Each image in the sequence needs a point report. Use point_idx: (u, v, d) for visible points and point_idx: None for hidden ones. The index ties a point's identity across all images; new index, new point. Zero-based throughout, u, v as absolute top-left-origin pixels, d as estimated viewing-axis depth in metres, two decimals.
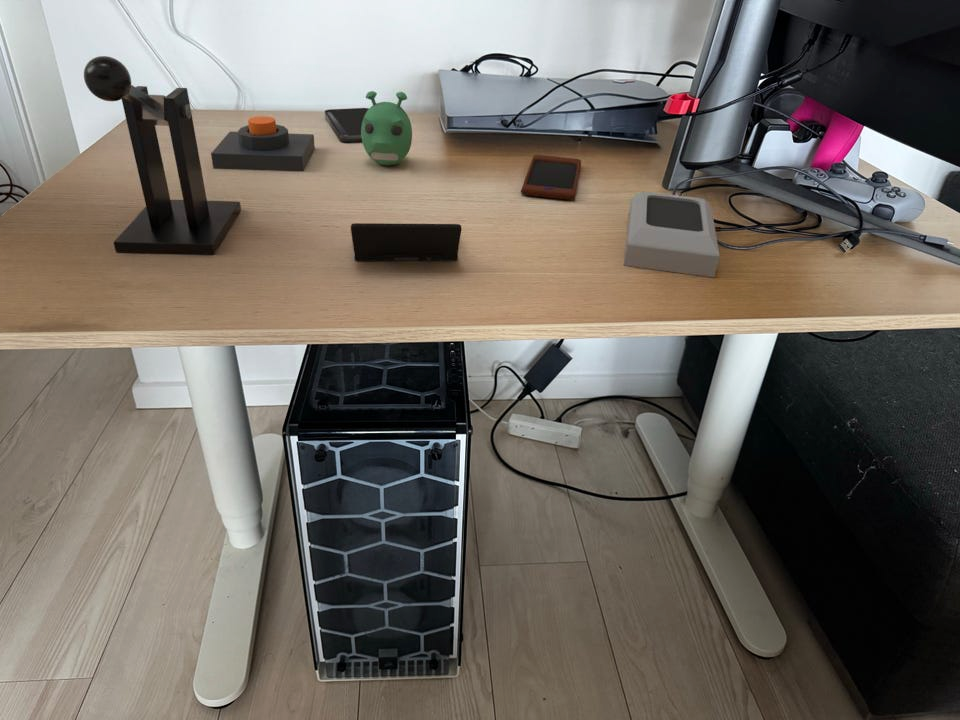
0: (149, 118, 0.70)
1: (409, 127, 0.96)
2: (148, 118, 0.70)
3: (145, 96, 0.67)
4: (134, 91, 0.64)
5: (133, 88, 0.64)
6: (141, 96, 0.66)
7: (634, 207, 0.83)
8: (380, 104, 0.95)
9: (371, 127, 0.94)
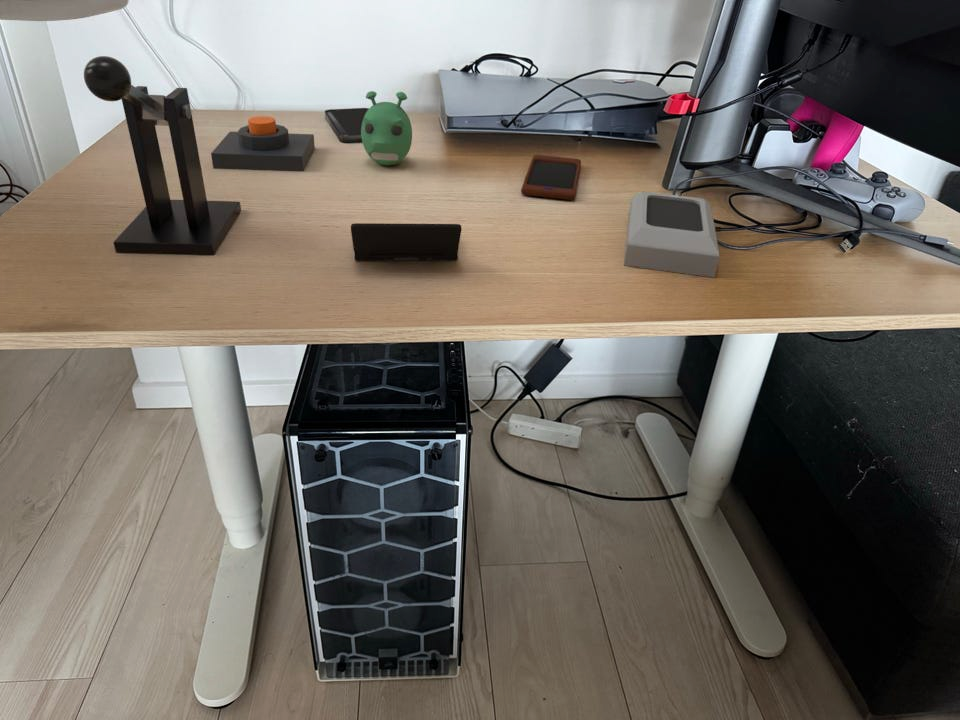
0: (149, 118, 0.70)
1: (409, 127, 0.96)
2: (148, 118, 0.70)
3: (145, 96, 0.67)
4: (134, 91, 0.64)
5: (133, 88, 0.64)
6: (141, 96, 0.66)
7: (634, 207, 0.83)
8: (380, 104, 0.95)
9: (371, 127, 0.94)
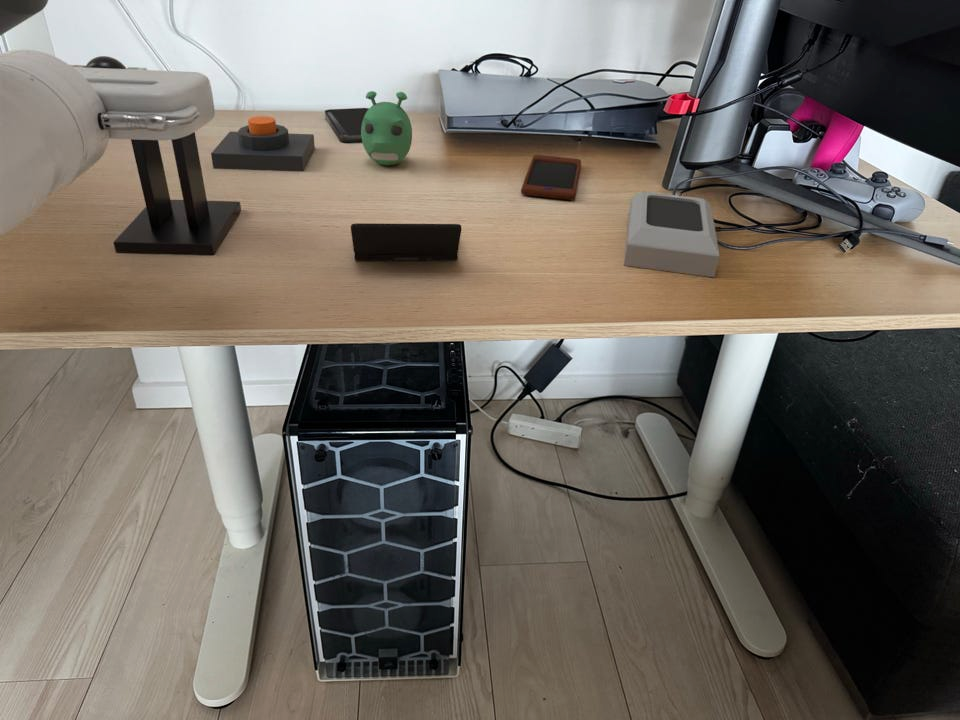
0: None
1: (409, 127, 0.96)
2: None
3: None
4: None
5: None
6: None
7: (634, 207, 0.83)
8: (380, 104, 0.95)
9: (371, 127, 0.94)
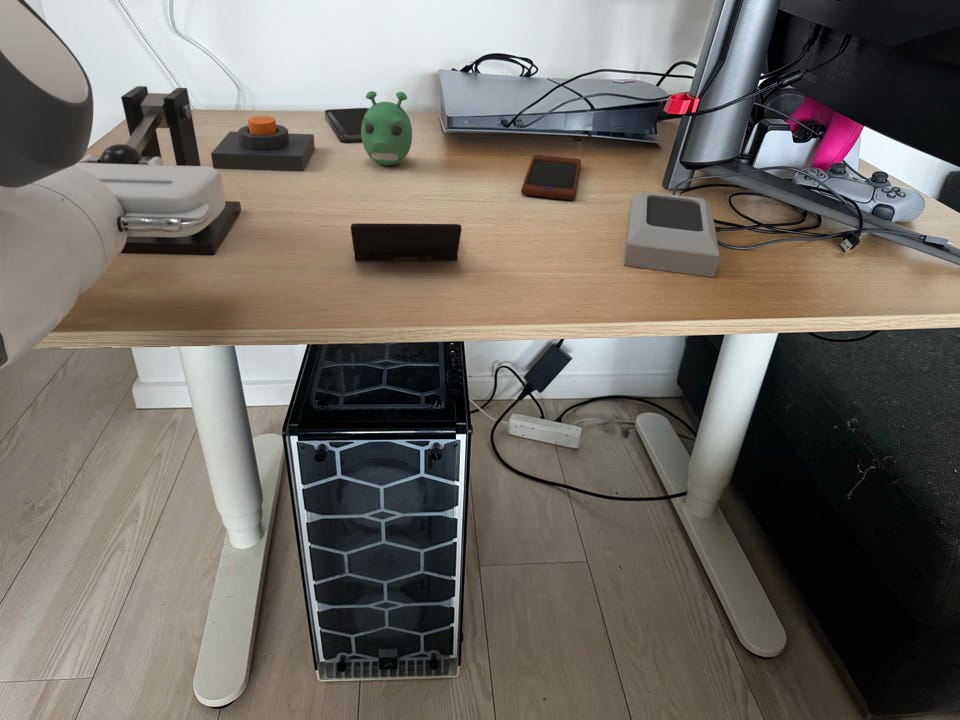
0: None
1: (409, 127, 0.96)
2: None
3: (149, 129, 0.68)
4: (142, 143, 0.66)
5: (141, 142, 0.66)
6: (147, 137, 0.67)
7: (634, 207, 0.83)
8: (380, 104, 0.95)
9: (371, 127, 0.94)
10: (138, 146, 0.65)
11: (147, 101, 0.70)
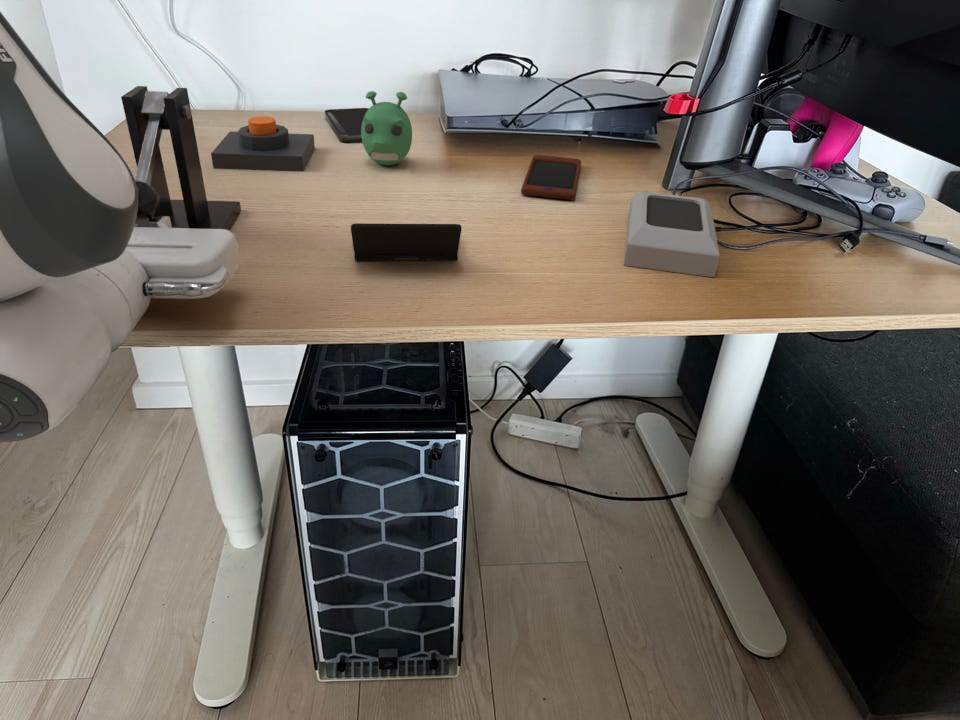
0: None
1: (409, 127, 0.96)
2: None
3: (155, 145, 0.69)
4: (151, 166, 0.68)
5: (150, 166, 0.68)
6: (154, 155, 0.69)
7: (634, 207, 0.83)
8: (380, 104, 0.95)
9: (371, 127, 0.94)
10: (148, 173, 0.68)
11: (147, 106, 0.70)
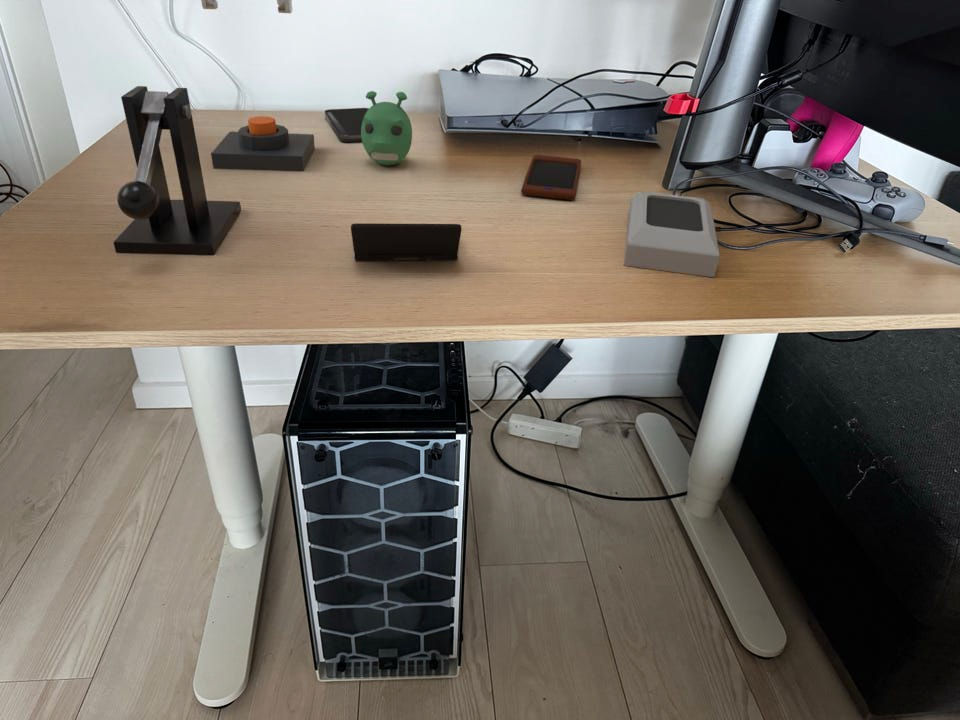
0: None
1: (409, 127, 0.96)
2: None
3: (155, 145, 0.69)
4: (151, 166, 0.68)
5: (150, 166, 0.68)
6: (154, 155, 0.69)
7: (634, 207, 0.83)
8: (380, 104, 0.95)
9: (371, 127, 0.94)
10: (148, 173, 0.68)
11: (147, 106, 0.70)
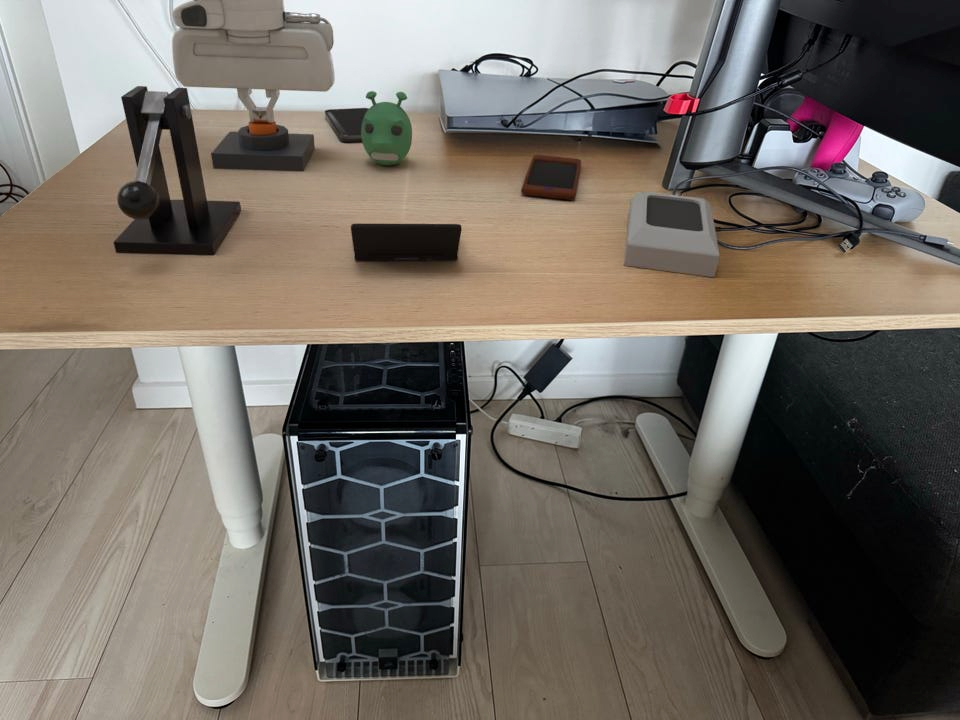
0: None
1: (409, 127, 0.96)
2: None
3: (155, 145, 0.69)
4: (151, 166, 0.68)
5: (150, 166, 0.68)
6: (154, 155, 0.69)
7: (634, 207, 0.83)
8: (380, 104, 0.95)
9: (371, 127, 0.94)
10: (148, 173, 0.68)
11: (147, 106, 0.70)
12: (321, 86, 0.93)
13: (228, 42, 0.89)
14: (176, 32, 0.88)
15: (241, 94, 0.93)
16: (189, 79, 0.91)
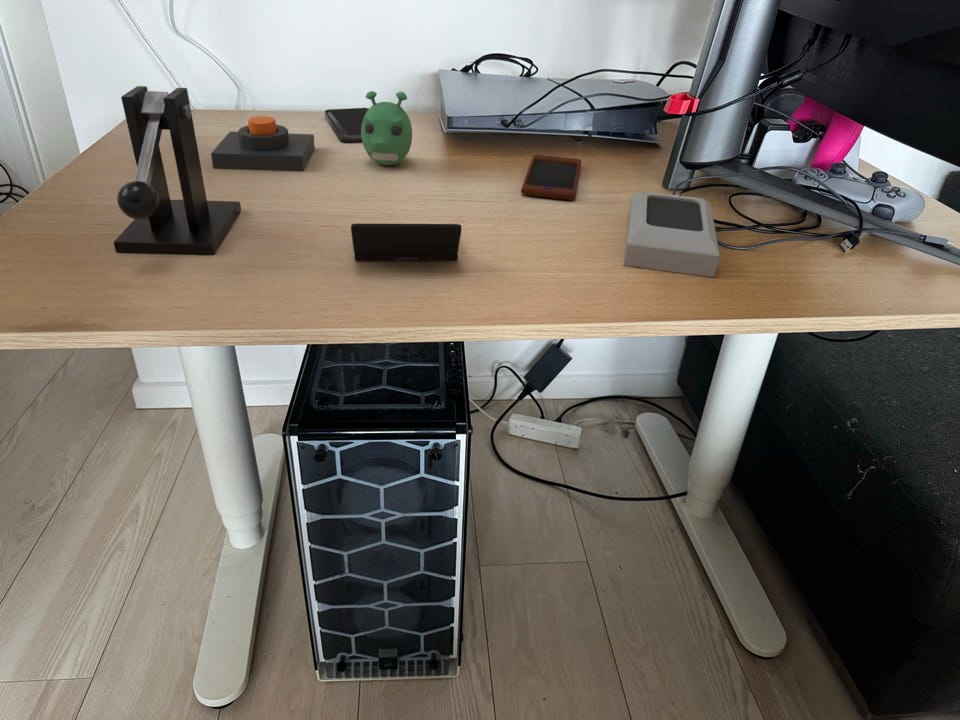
0: None
1: (409, 127, 0.96)
2: None
3: (155, 145, 0.69)
4: (151, 166, 0.68)
5: (150, 166, 0.68)
6: (154, 155, 0.69)
7: (634, 207, 0.83)
8: (380, 104, 0.95)
9: (371, 127, 0.94)
10: (148, 173, 0.68)
11: (147, 106, 0.70)
12: None
13: None
14: None
15: None
16: None
